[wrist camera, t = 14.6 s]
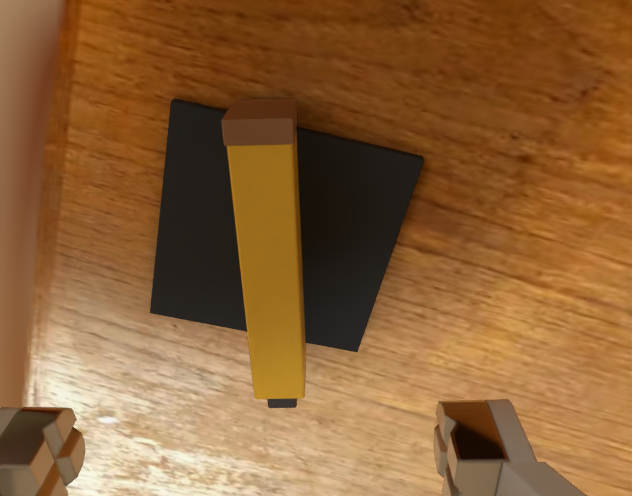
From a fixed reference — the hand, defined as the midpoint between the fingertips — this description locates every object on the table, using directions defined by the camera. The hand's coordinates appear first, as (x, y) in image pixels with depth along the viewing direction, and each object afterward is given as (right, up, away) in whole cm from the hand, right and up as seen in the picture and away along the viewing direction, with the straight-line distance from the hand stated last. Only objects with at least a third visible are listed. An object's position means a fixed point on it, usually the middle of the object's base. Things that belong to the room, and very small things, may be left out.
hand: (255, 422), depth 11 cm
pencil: (0, +4, +8) cm, 9 cm away
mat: (0, +4, +9) cm, 10 cm away
